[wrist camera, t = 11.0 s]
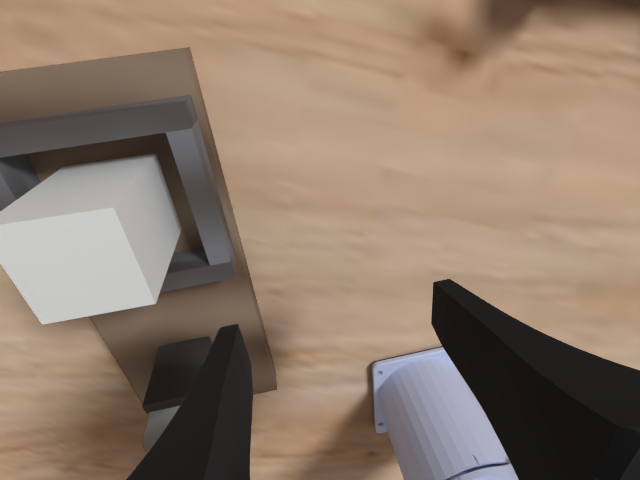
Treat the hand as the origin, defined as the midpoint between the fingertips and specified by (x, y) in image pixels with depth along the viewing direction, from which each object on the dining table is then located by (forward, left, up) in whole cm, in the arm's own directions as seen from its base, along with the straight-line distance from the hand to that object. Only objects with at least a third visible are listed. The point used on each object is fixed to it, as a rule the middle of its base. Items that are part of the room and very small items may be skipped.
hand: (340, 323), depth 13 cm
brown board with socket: (-2, +9, -9) cm, 13 cm away
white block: (+3, +9, -8) cm, 12 cm away
